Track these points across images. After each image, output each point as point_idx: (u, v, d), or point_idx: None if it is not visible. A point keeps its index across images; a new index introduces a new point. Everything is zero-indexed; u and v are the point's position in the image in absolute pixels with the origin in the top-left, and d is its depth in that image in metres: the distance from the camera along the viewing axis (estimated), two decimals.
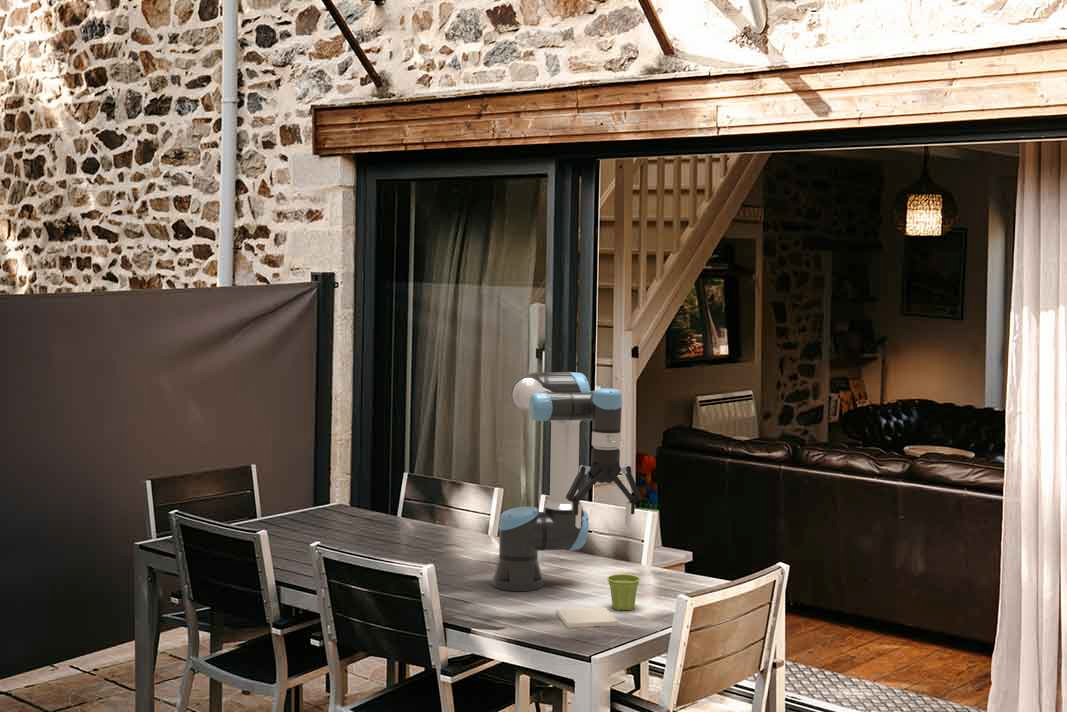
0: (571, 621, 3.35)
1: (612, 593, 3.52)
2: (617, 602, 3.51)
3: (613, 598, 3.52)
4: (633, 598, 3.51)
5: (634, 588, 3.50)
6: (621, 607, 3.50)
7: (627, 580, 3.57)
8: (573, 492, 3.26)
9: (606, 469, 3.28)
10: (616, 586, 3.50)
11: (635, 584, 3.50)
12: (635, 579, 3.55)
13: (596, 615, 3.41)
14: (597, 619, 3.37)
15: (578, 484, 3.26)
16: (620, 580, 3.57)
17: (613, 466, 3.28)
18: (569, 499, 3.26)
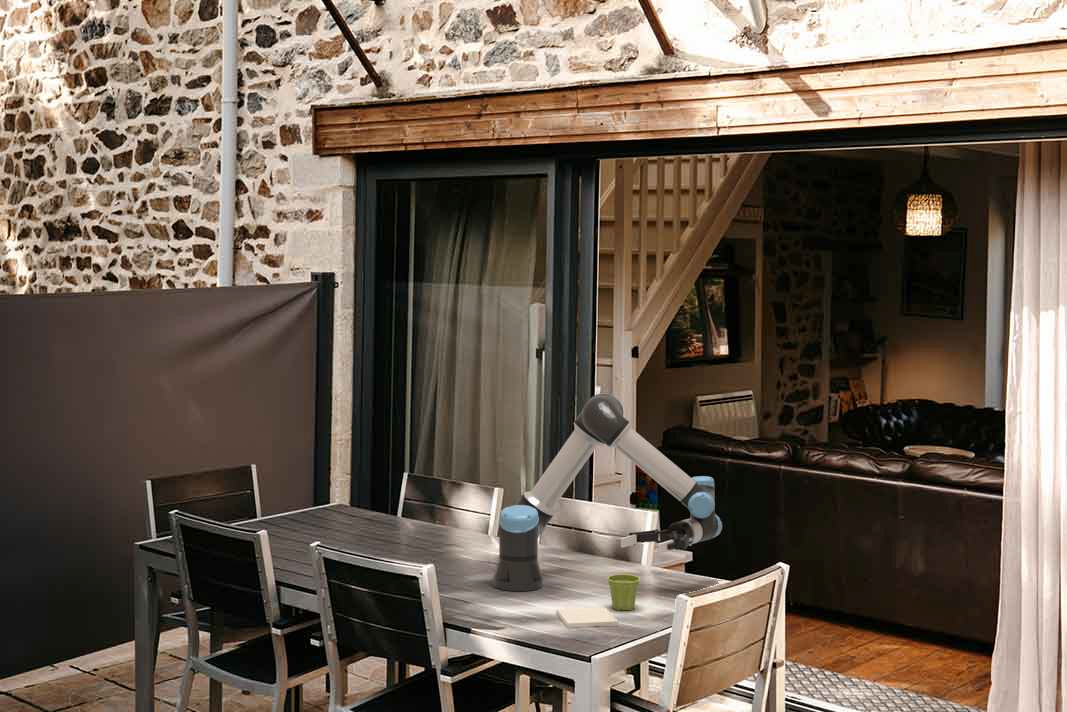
0: (571, 621, 3.35)
1: (612, 593, 3.52)
2: (617, 602, 3.51)
3: (613, 598, 3.52)
4: (633, 598, 3.51)
5: (634, 588, 3.50)
6: (621, 607, 3.50)
7: (627, 580, 3.57)
8: None
9: None
10: (616, 586, 3.50)
11: (635, 584, 3.50)
12: (635, 579, 3.55)
13: (596, 615, 3.41)
14: (597, 619, 3.37)
15: None
16: (620, 580, 3.57)
17: None
18: (683, 549, 3.58)
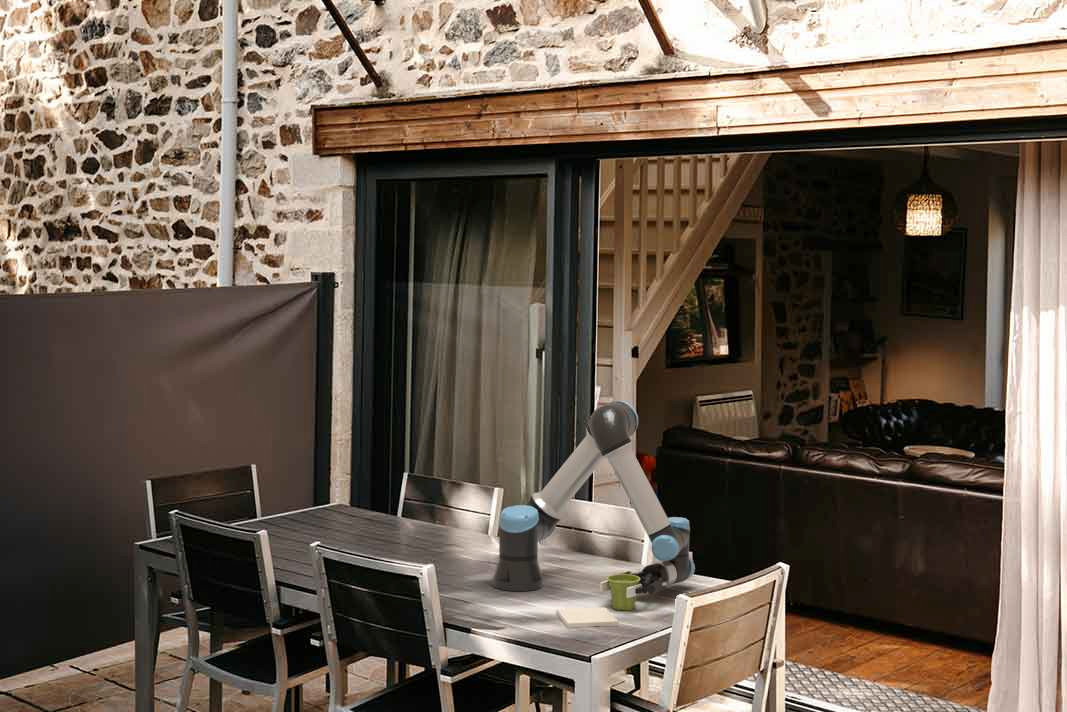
0: (571, 621, 3.35)
1: (612, 593, 3.52)
2: (617, 602, 3.51)
3: (613, 598, 3.52)
4: (633, 598, 3.51)
5: None
6: (621, 607, 3.50)
7: (627, 580, 3.57)
8: None
9: None
10: (616, 586, 3.50)
11: (635, 584, 3.50)
12: (635, 579, 3.55)
13: (596, 615, 3.41)
14: (597, 619, 3.37)
15: None
16: (620, 580, 3.57)
17: None
18: None
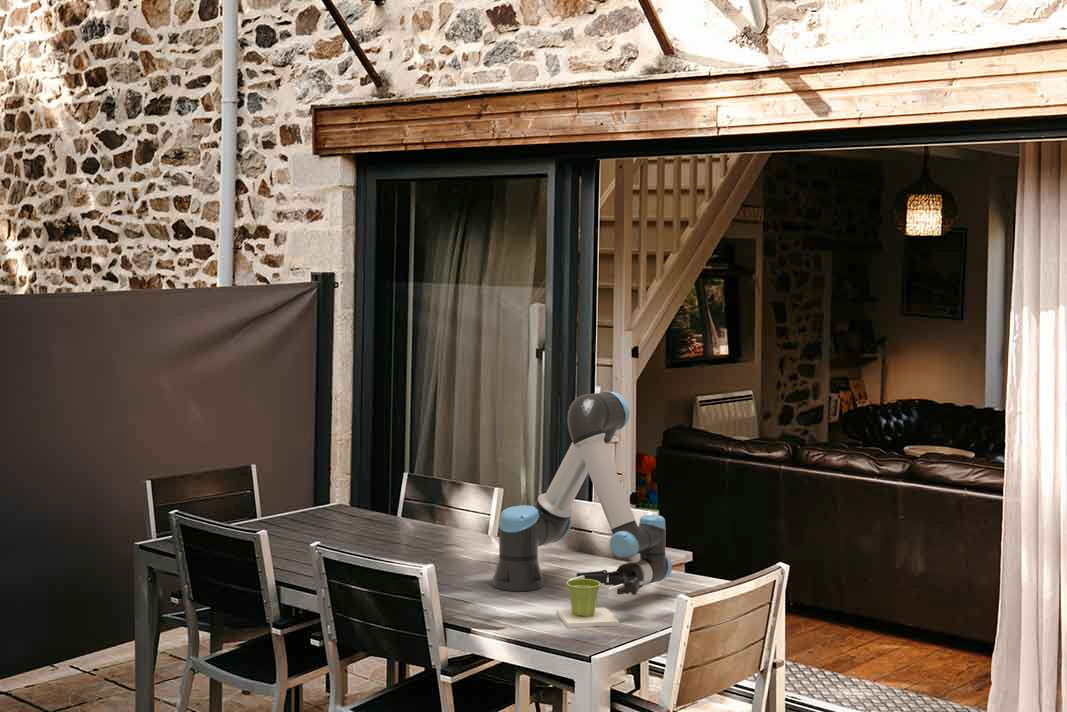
0: (571, 621, 3.35)
1: (571, 598, 3.41)
2: (576, 607, 3.39)
3: (572, 603, 3.41)
4: (593, 604, 3.40)
5: (593, 593, 3.39)
6: (580, 613, 3.39)
7: (588, 585, 3.46)
8: None
9: None
10: (575, 591, 3.39)
11: (594, 589, 3.39)
12: (596, 584, 3.44)
13: (596, 615, 3.41)
14: (597, 619, 3.37)
15: None
16: (581, 585, 3.46)
17: None
18: (634, 594, 3.41)
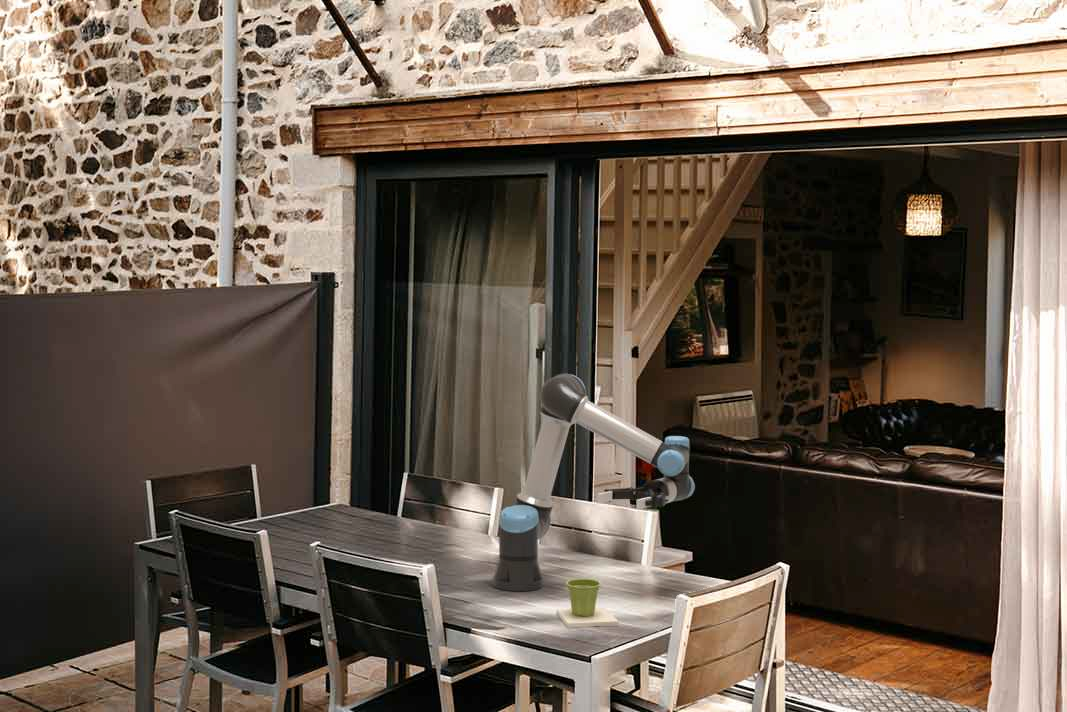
0: (571, 621, 3.35)
1: (571, 598, 3.41)
2: (576, 607, 3.40)
3: (572, 603, 3.41)
4: (592, 604, 3.40)
5: (593, 593, 3.39)
6: (580, 613, 3.39)
7: (588, 585, 3.46)
8: None
9: None
10: (575, 591, 3.39)
11: (594, 589, 3.39)
12: (596, 584, 3.44)
13: (596, 615, 3.41)
14: (597, 619, 3.37)
15: None
16: (581, 585, 3.46)
17: None
18: (661, 506, 3.54)
